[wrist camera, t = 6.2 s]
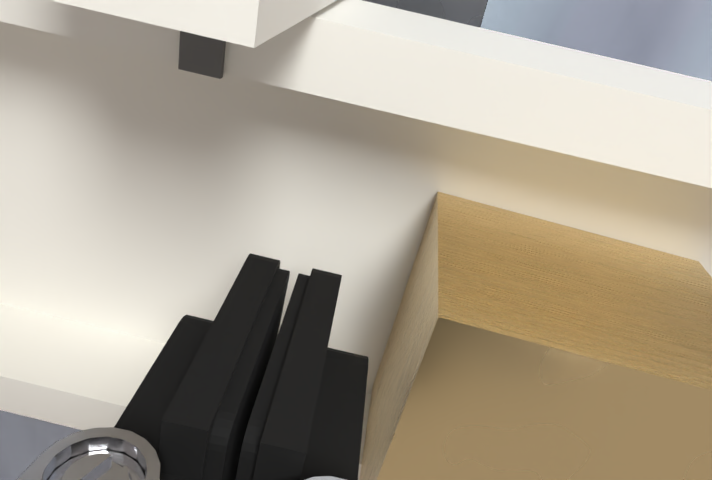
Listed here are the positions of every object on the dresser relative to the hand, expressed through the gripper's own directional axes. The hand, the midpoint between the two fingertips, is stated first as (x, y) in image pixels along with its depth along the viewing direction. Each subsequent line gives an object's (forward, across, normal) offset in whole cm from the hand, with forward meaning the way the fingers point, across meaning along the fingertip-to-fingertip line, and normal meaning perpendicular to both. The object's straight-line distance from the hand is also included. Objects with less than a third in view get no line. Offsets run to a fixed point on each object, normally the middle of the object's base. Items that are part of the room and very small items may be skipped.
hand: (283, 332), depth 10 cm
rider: (+2, -5, 0) cm, 5 cm away
